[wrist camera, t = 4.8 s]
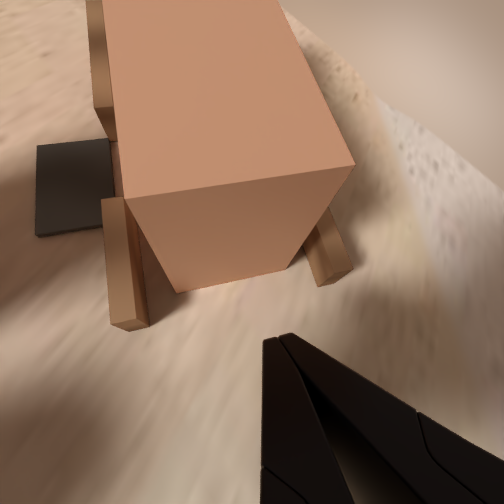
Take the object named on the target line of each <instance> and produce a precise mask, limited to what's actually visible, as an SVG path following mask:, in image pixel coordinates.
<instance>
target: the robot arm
mask: <svg viewBox="0 0 504 504" xmlns="http://www.w3.org/2000/svg"><path fill="white" fill-rule="evenodd" d="M260 504H504V461H503V460H502V459H500V458H498V457H496V456H494V455H493V454H491V453H489V452H487V451H485V450H483V449H482V448H480V447H478V446H476V445H474V444H473V443H471V442H469V441H467V440H466V439H464V438H462V437H461V436H459V435H457V434H456V433H454V432H452V431H450V430H449V429H447V428H445V427H444V426H442V425H440V424H439V423H437V422H436V421H434V420H432V419H431V418H429V417H427V416H426V415H424V414H423V413H421V412H417V411H416V409H414V408H413V407H411V406H410V405H408V404H406V403H405V402H403V401H401V400H400V399H398V398H397V397H395V396H393V395H392V394H390V393H389V392H387V391H385V390H384V389H382V388H381V387H379V386H377V385H376V384H374V383H373V382H371V381H369V380H368V379H366V378H365V377H363V376H361V375H360V374H358V373H356V372H355V371H353V370H352V369H350V368H348V367H347V366H345V365H344V364H342V363H340V362H339V361H337V360H336V359H334V358H332V357H331V356H329V355H328V354H326V353H324V352H323V351H321V350H320V349H318V348H316V347H315V346H313V345H311V344H310V343H308V342H307V341H305V340H303V339H302V338H300V337H299V336H297V335H295V334H294V333H287V334H283V335H280V336H279V337H278V338H277V337H272V338H268V339H265V340H263V349H262V420H261V475H260Z"/></svg>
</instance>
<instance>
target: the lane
mask: <svg viewBox="0 0 504 504" xmlns="http://www.w3.org/2000/svg"><path fill="white" fill-rule="evenodd" d="M86 12H87V25H88V38H89V51H90V64H91V77H92V90H93V103H94V109H95V111H96V113H97V116H98V118H99V120H100V122H101V124H102V126H103V128H104V130H105V132H106V134H107V137H108V138H104V139H95V140H85V141H76V142H66V143H57V144H47V145H38V146H37V161H36V214H35V235H36V236H38V237H42V236H48V235H55V234H61V233H67V232H73V231H79V230H85V229H91V228H97V227H103V233H104V246H105V259H106V272H107V285H108V298H109V311H110V324H111V325H113V326H116V327H118V328H121V329H123V330H125V331H128V332H130V331H134V330H138V329H143V328H147V327H150V323H149V315H148V308H147V300H146V292H145V284H144V276H143V268H142V260H141V252H140V244H139V236H138V228H137V221H136V219H135V217H134V215H133V214H132V212H131V210H130V208H129V206H128V205H127V203H126V201H125V199H124V197H123V196H121V197H115V188H114V178H113V168H112V158H111V148H110V142H111V141H118V138H117V129H116V120H115V111H114V102H113V93H112V85H111V76H110V67H109V58H108V49H107V40H106V32H105V23H104V14H103V5H102V0H86ZM303 247H304V250H305V253H306V256H307V258H308V261H309V264H310V267H311V270H312V273H313V276H314V278H315V281H316V284H317V287H321V286H325V285H329V284H333V283H335V282H336V281H338V280H339V279H341V278H342V277H343V276H345V275H346V274H347V273H349V272H350V271H351V270H353V266H352V264H351V261H350V259H349V256H348V254H347V251H346V249H345V246H344V244H343V241H342V239H341V237H340V234H339V232H338V229H337V227H336V224H335V222H334V219H333V217H332V214H331V212H330V209H329V207H327V208H326V210H325V211H324V213H323V214H322V216H321V217H320V219H319V220H318V222H317V223H316V225H315V226H314V228H313V229H312V231H311V232H310V233H309V235H308V236H307V238H306V239H305V241H304V242H303Z"/></svg>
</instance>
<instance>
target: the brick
mask: <svg viewBox="0 0 504 504" xmlns="http://www.w3.org/2000/svg"><path fill="white" fill-rule="evenodd" d="M102 5H103V14H104V23H105V32H106V40H107V49H108V58H109V67H110V76H111V85H112V93H113V102H114V111H115V120H116V129H117V138H118V146H119V155H120V164H121V173H122V182H123V190H124V199H125V201H126V203H127V205H128V206H129V208H130V210H131V212H132V214H133V215H134V217H135V219H136V221H137V223H138V225H139V226H140V228H141V230H142V232H143V234H144V235H145V237H146V239H147V241H148V243H149V244H150V246H151V248H152V250H153V252H154V253H155V255H156V257H157V259H158V261H159V262H160V264H161V266H162V268H163V270H164V271H165V273H166V275H167V277H168V279H169V281H170V282H171V284H172V286H173V288H174V290H175V291H176V293H182V292H187V291H191V290H196V289H200V288H205V287H209V286H214V285H219V284H223V283H228V282H232V281H237V280H241V279H246V278H250V277H255V276H260V275H264V274H269V273H273V272H278V271H282V270H285V269H286V268H287V266H288V265H289V263H290V262H291V260H292V259H293V257H294V256H295V254H296V253H297V251H298V250H299V248H300V247H301V245H302V244H303V242H304V241H305V239H306V238H307V236H308V235H309V233H310V232H311V231H312V229H313V228H314V226H315V225H316V223H317V222H318V220H319V219H320V217H321V216H322V214H323V213H324V211H325V210H326V208H327V207H328V205H329V204H330V202H331V201H332V199H333V198H334V196H335V195H336V193H337V192H338V190H339V189H340V187H341V186H342V185H343V183H344V182H345V180H346V179H347V177H348V176H349V174H350V173H351V171H352V170H353V168H354V167H355V165H356V164H355V162H354V160H353V158H352V156H351V153H350V151H349V149H348V147H347V145H346V143H345V141H344V139H343V137H342V135H341V133H340V130H339V128H338V126H337V124H336V122H335V120H334V118H333V116H332V114H331V112H330V109H329V107H328V105H327V103H326V101H325V99H324V97H323V95H322V93H321V91H320V88H319V86H318V84H317V82H316V80H315V78H314V76H313V74H312V72H311V70H310V67H309V65H308V63H307V61H306V59H305V57H304V55H303V53H302V51H301V49H300V46H299V44H298V42H297V40H296V38H295V36H294V34H293V32H292V30H291V28H290V25H289V23H288V21H287V19H286V17H285V15H284V13H283V11H282V9H281V7H280V4H279V2H278V0H102Z"/></svg>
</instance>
